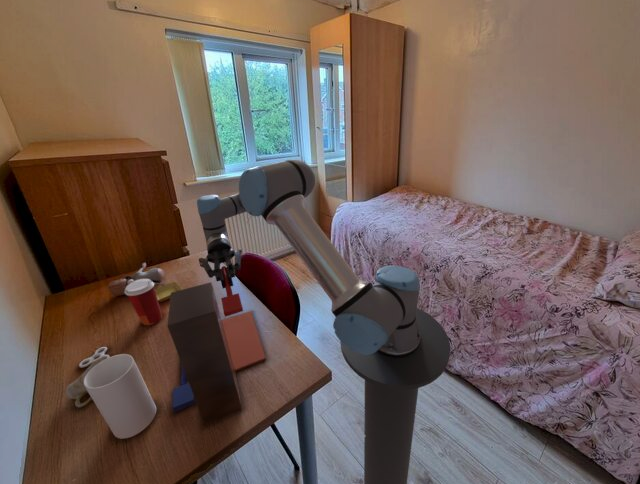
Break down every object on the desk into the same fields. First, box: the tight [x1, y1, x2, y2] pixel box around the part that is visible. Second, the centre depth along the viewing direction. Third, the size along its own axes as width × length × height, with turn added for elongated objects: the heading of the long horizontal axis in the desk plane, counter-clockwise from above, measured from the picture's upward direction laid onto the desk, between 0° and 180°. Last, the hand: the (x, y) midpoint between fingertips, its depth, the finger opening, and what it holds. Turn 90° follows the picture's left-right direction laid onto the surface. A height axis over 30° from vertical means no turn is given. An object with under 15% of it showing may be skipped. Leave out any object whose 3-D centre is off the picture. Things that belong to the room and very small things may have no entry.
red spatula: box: [220, 265, 244, 317], centre depth 79 cm, size 19×4×1 cm, turn 28°
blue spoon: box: [172, 365, 196, 413], centre depth 75 cm, size 19×4×1 cm, turn 27°
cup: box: [84, 353, 157, 439], centre depth 62 cm, size 8×8×16 cm
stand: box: [167, 282, 243, 426], centre depth 63 cm, size 8×11×29 cm
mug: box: [65, 357, 107, 408], centre depth 71 cm, size 8×10×10 cm
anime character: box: [108, 262, 167, 297], centre depth 110 cm, size 25×6×18 cm
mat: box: [222, 311, 266, 372], centre depth 86 cm, size 12×22×1 cm, turn 27°
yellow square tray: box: [154, 280, 183, 303], centre depth 107 cm, size 9×9×2 cm
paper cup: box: [124, 279, 163, 326], centre depth 92 cm, size 8×8×14 cm
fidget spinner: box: [78, 346, 111, 368], centre depth 81 cm, size 7×6×1 cm
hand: (227, 283), depth 78 cm, fingers closed on red spatula
